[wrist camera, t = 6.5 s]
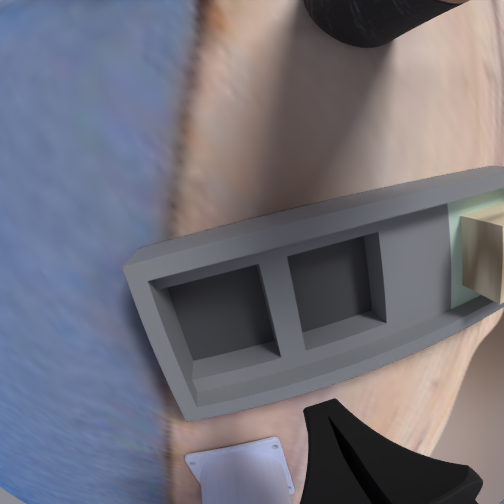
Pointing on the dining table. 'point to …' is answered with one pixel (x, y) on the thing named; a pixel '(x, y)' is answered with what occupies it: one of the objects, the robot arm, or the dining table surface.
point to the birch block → (484, 251)
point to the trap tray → (310, 292)
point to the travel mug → (374, 18)
